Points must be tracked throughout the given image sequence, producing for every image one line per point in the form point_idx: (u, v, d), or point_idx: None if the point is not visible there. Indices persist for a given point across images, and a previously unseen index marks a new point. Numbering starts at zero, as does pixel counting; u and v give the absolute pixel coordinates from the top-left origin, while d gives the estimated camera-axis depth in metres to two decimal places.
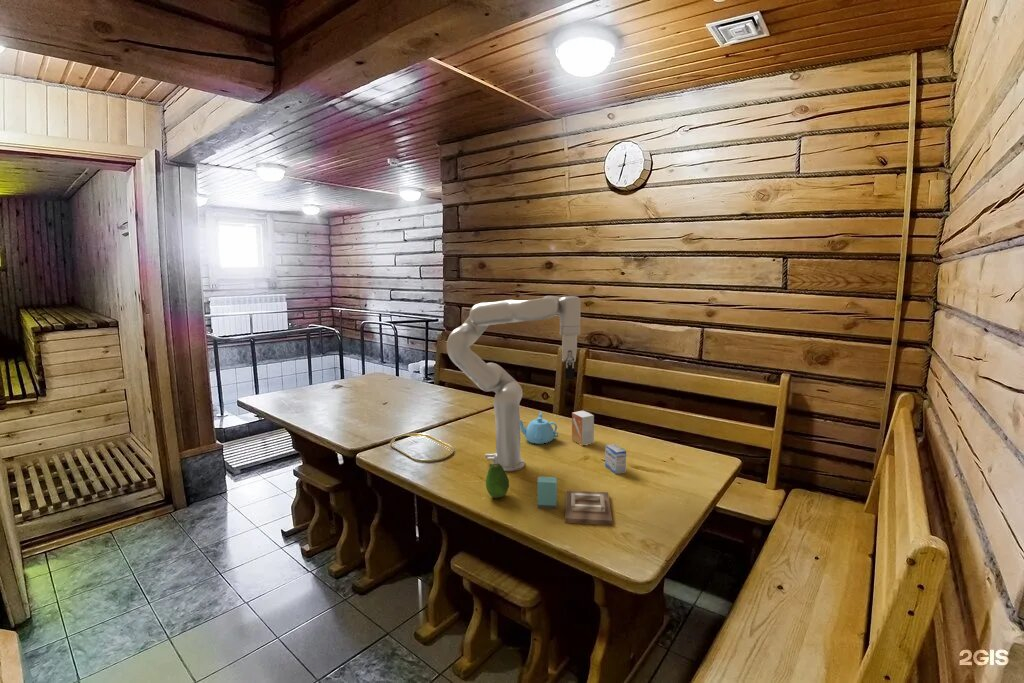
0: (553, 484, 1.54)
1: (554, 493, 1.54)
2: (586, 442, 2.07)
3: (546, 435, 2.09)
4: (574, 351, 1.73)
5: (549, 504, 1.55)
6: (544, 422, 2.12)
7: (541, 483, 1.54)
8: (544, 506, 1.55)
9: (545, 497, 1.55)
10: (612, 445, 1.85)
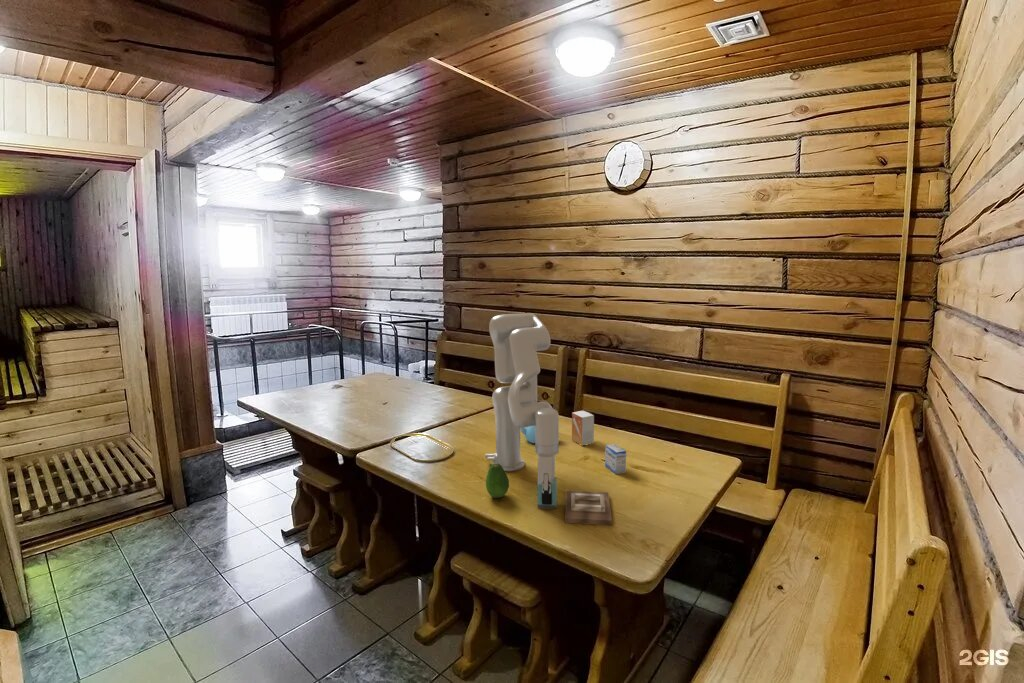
0: (553, 483, 1.54)
1: (554, 493, 1.54)
2: (586, 442, 2.07)
3: None
4: (551, 474, 1.50)
5: None
6: None
7: None
8: (544, 506, 1.55)
9: None
10: (612, 445, 1.85)
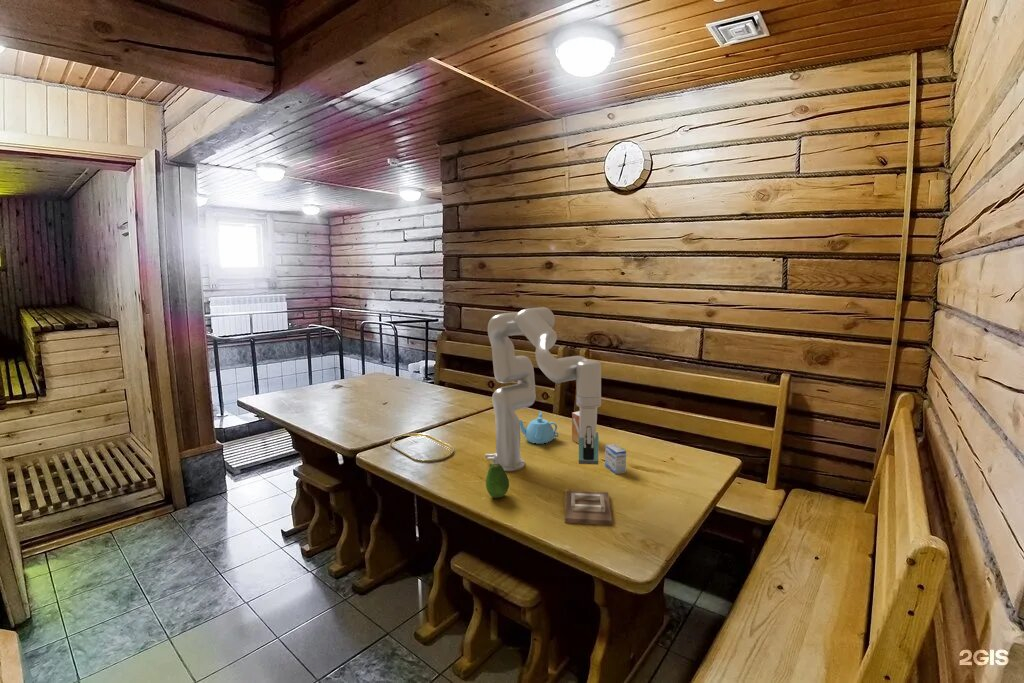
0: (595, 438, 1.48)
1: (596, 448, 1.49)
2: None
3: (546, 435, 2.09)
4: (594, 427, 1.45)
5: None
6: (544, 422, 2.12)
7: None
8: (585, 462, 1.50)
9: None
10: (612, 445, 1.85)
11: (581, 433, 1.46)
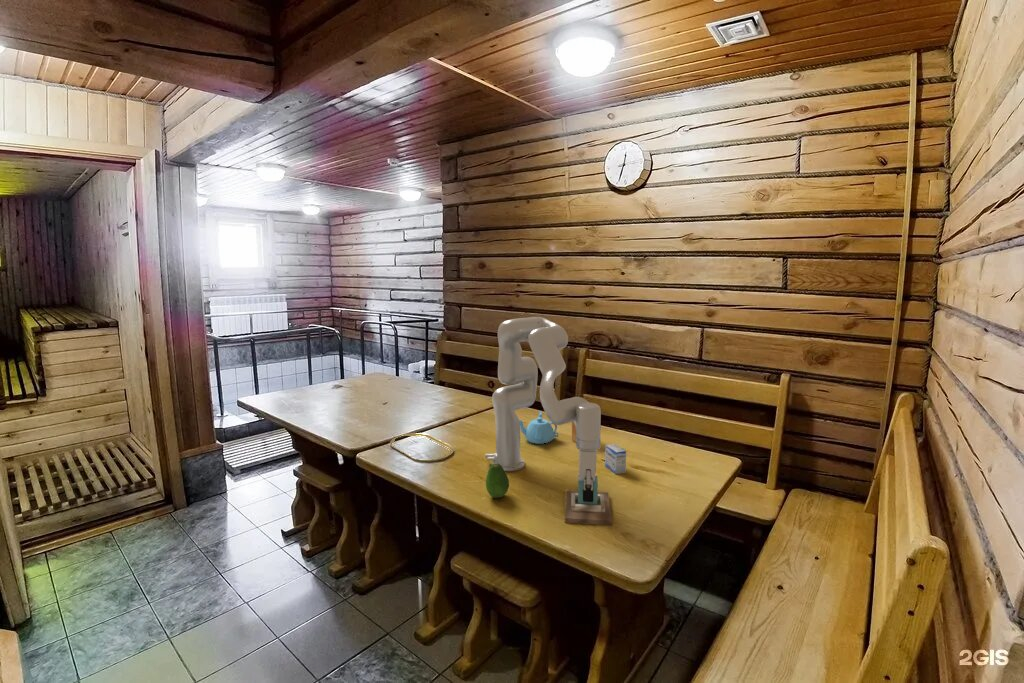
0: (594, 482, 1.51)
1: (595, 492, 1.51)
2: None
3: (546, 435, 2.09)
4: (593, 470, 1.47)
5: (590, 503, 1.52)
6: (544, 422, 2.12)
7: (582, 481, 1.51)
8: None
9: None
10: (612, 445, 1.85)
11: (581, 476, 1.48)
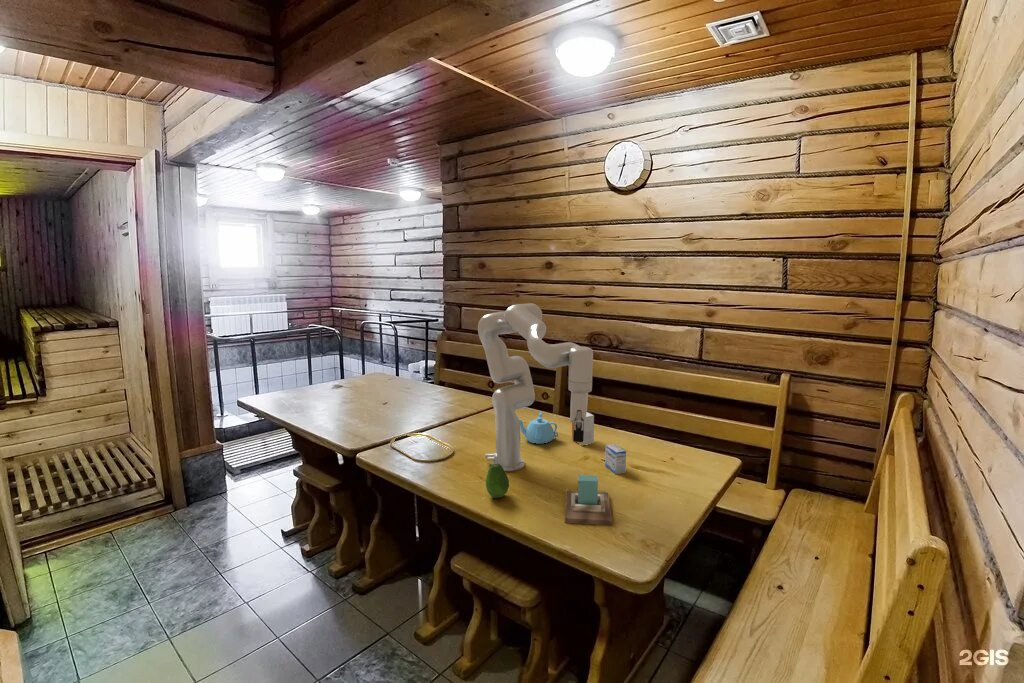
0: (594, 482, 1.51)
1: (595, 492, 1.51)
2: (586, 442, 2.07)
3: (546, 435, 2.09)
4: (584, 411, 1.51)
5: (590, 503, 1.52)
6: (544, 422, 2.12)
7: (582, 481, 1.51)
8: None
9: (586, 496, 1.52)
10: (612, 445, 1.85)
11: (571, 416, 1.52)
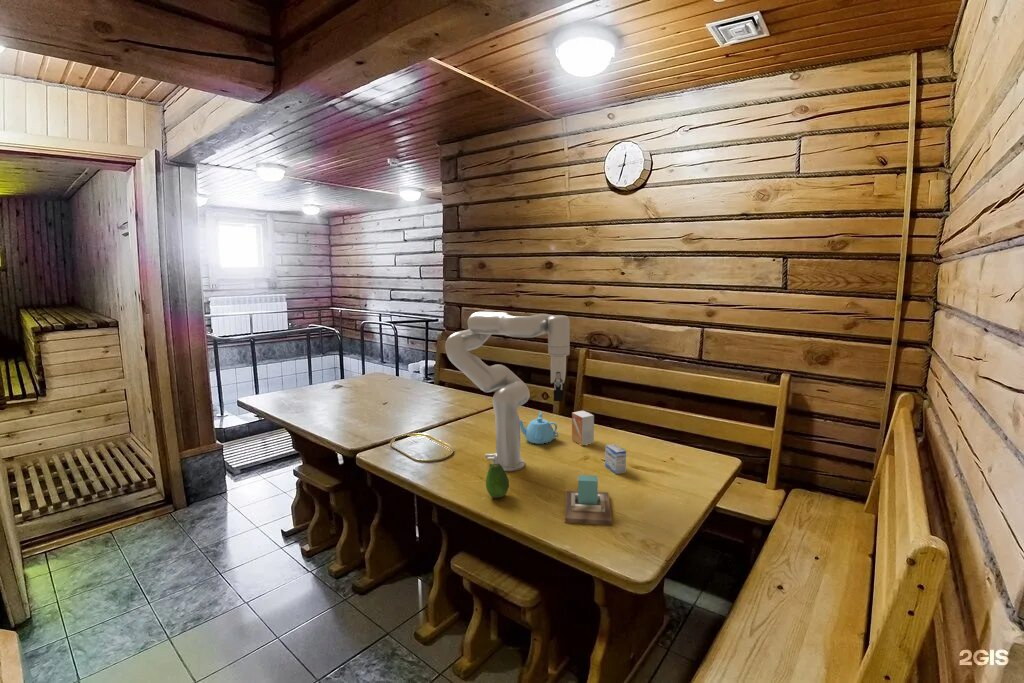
0: (594, 482, 1.51)
1: (595, 492, 1.51)
2: (586, 442, 2.07)
3: (546, 435, 2.09)
4: (563, 372, 1.67)
5: (590, 503, 1.52)
6: (544, 422, 2.12)
7: (582, 481, 1.51)
8: None
9: (586, 496, 1.52)
10: (612, 445, 1.85)
11: (551, 378, 1.68)
